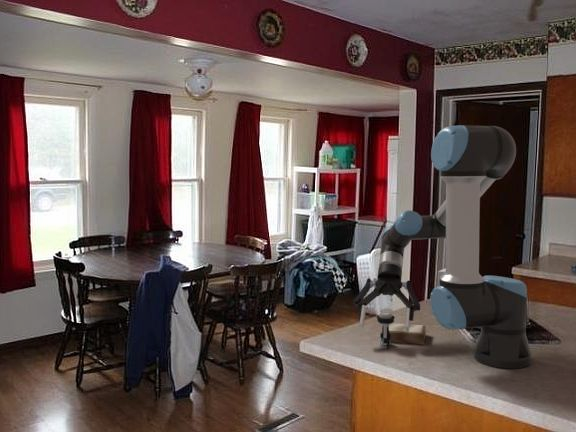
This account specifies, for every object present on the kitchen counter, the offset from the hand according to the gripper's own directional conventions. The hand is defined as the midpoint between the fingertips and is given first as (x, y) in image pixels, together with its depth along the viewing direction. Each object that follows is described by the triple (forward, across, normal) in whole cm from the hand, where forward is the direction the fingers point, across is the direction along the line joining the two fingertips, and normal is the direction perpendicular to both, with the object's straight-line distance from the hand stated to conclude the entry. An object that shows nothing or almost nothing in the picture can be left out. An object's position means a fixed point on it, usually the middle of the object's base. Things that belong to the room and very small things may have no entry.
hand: (384, 327), depth 172 cm
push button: (+4, 0, -5) cm, 6 cm away
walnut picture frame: (-3, -5, -12) cm, 13 cm away
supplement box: (-31, -19, -40) cm, 54 cm away
